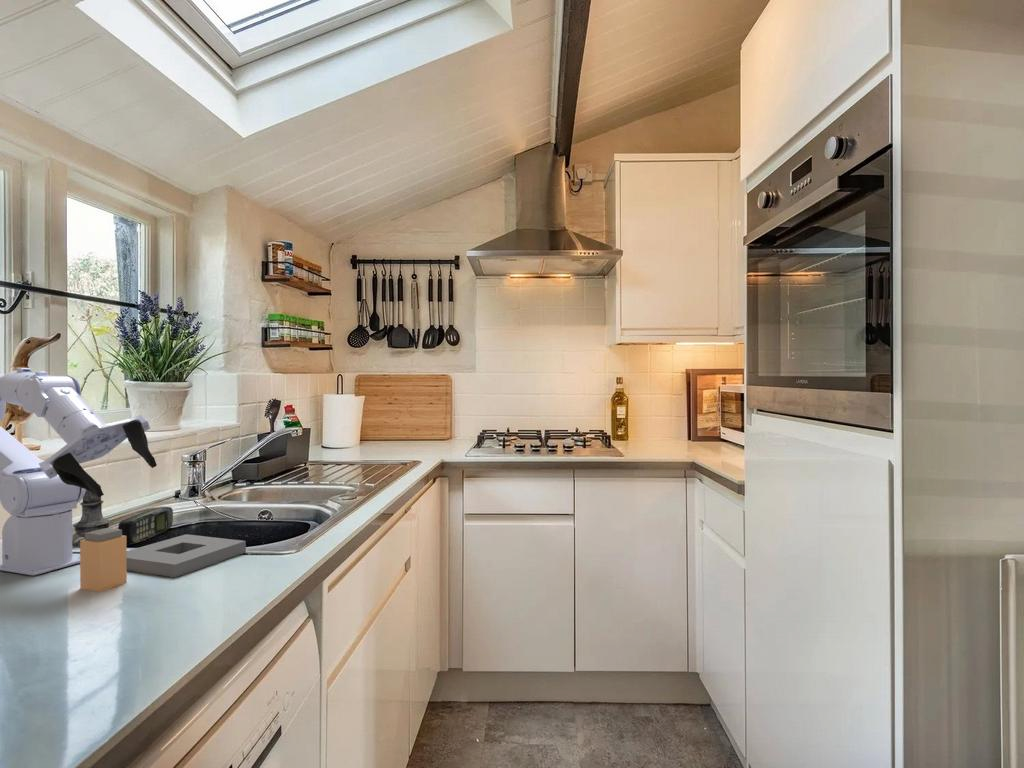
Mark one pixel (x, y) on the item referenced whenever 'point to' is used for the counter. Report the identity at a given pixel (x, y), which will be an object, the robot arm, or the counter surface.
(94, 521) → the salt shaker
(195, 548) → the socket plate
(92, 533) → the plug
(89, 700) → the counter surface
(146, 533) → the mobile phone
